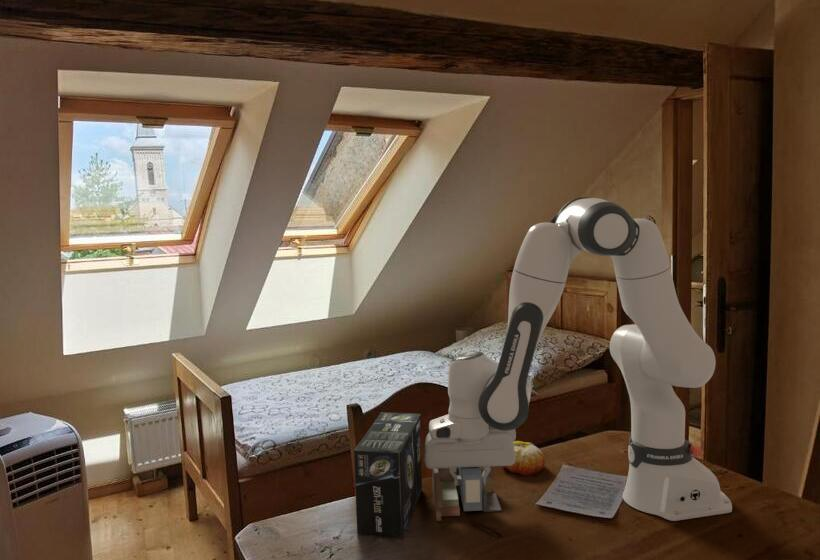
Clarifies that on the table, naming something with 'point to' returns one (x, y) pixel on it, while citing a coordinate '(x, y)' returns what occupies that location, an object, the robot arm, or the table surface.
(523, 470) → the fruit
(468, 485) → the book
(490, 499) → the bookend
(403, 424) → the box
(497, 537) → the table surface
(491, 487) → the shelf
